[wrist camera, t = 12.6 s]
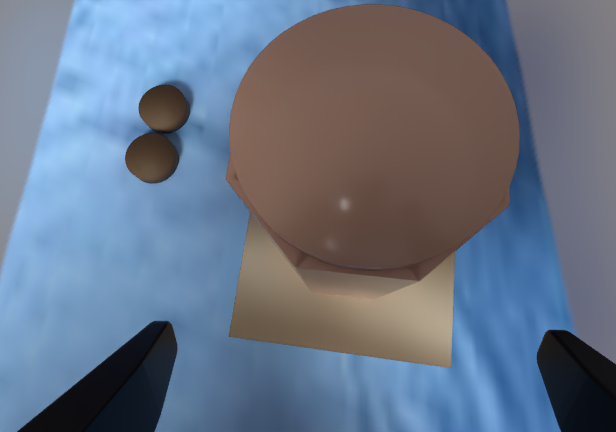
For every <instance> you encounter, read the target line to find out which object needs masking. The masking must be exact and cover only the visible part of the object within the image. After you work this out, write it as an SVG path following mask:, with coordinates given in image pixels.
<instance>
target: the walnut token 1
mask: <svg viewBox="0 0 616 432" xmlns="http://www.w3.org/2000/svg"><path fill="white" fill-rule="evenodd" d="M139 114H140V116H141V118H142V120H143V121H144V122H145V123H146V124H147V125H148V126H149V127H150V128H151V129H152V130H154V131H156V132H158V133H171V132H174V131H176V130H178V129H180V128H181V127H182V126H183V125H184V124H185V123H186V122H187V120H188V117H189V114H190V107H189V104H188V102H187V100H186V99H185V97H184V96H183V94H182V93H181V91H180V90H179V89H177V88H176V87H174V86H171V85H159V86H156V87H153V88H151V89H150V90H148V91H147V92H146V93H145V94H144V95H143V97H142V98H141V100H140V103H139Z"/></svg>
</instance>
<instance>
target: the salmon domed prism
mask: <svg viewBox="0 0 616 432" xmlns="http://www.w3.org/2000/svg"><path fill="white" fill-rule="evenodd" d="M229 137H230V150H231V152H230V158H229V163H228V169H227V175H226V180H227V182H228V183H229V184H230V186H231V187H232V189H233V190H234V191H235V193H236V194H237V195H238V197H239V198H240V199H241V201H242V202H243V203H244V205H245V206H246V207H247V209H248V210H249V211H250V213H251V214H252V215H253V217H254V218H255V219H256V221H257V222H258V223H259V225H260V226H261V228H262V229H263V230H264V232H265V233H266V234H267V236H268V237H269V238H270V240H271V241H272V242H273V244H274V245H275V246H276V248H277V249H278V250H279V251H280V253H281V254H282V255H283V256H284V258H285V259H286V260H287V261H288V263H289V264H290V265H291V267H292V268H293V269H294V270H295V272H296V273H297V274H298V275H299V277H300V278H301V279H302V281H303V282H304V283H305V284H306V286H307V287H308V288H309V289H310V291H311V292H312V293H320V294H329V295H338V296H347V297H356V298H365V299H374V300H375V299H377V298H380V297H382V296H384V295H387V294H389V293H392V292H394V291H397V290H399V289H402V288H404V287H407V286H409V285H412V284H414V283H417V282H419V281H421V280H422V279H423V278H424V277H425V276H427V275H428V274H429V273H430V272H431V271H432V270H434V269H435V268H436V267H437V266H438V265H440V264H441V263H442V262H443V261H444V260H445V259H447V258H448V257H449V256H450V255H451V254H452V253H454V252H455V251H456V250H457V249H458V248H460V247H461V246H462V245H463V244H464V243H465V242H467V241H468V240H469V239H470V238H471V237H472V236H474V235H475V234H476V233H477V232H478V231H480V230H481V229H482V228H483V227H484V226H485V225H487V224H488V223H489V222H490V221H491V220H492V219H494V218H495V217H496V216H497V215H498V214H500V213H501V212H502V211H503V210H504V209H505V208H507V207H508V206H509V205H510V184H511V181H512V178H513V175H514V173H515V170H516V165H517V160H518V155H519V145H520V129H519V119H518V114H517V110H516V106H515V102H514V99H513V96H512V94H511V91H510V89H509V86H508V84H507V82H506V81H505V79H504V77H503V75H502V74H501V72H500V70H499V69H498V67H497V66H496V65H495V63H494V62H493V61H492V59H491V58H490V57H489V56H488V54H487V53H486V52H485V51H484V50H483V49H482V48H481V47H480V46H479V45H478V44H477V43H476V42H474V41H473V40H472V39H471V38H469V37H468V36H467V35H465V34H464V33H463V32H461V31H460V30H458V29H457V28H455V27H453V26H452V25H450V24H448V23H447V22H444V21H442V20H440V19H438V18H436V17H434V16H432V15H429V14H426V13H423V12H420V11H417V10H413V9H408V8H404V7H399V6H391V5H381V4H363V5H354V6H345V7H341V8H336V9H332V10H328V11H325V12H322V13H319V14H316V15H313V16H311V17H309V18H307V19H305V20H303V21H301V22H299V23H297V24H295V25H294V26H292V27H290V28H289V29H287V30H286V31H284V32H283V33H281V34H280V35H279V36H278V37H276V38H275V39H274V40H273V41H271V42H270V43H269V44H268V45H267V46H266V47H265V48H264V50H263V51H262V52H261V53H260V54H259V55H258V56H257V57H256V59H255V60H254V61H253V63H252V64H251V65H250V67H249V68H248V70H247V72H246V74H245V75H244V77H243V79H242V81H241V83H240V85H239V88H238V90H237V93H236V95H235V99H234V103H233V107H232V110H231V117H230V126H229Z"/></svg>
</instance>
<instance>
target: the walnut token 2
mask: <svg viewBox="0 0 616 432" xmlns="http://www.w3.org/2000/svg"><path fill="white" fill-rule="evenodd" d="M125 161H126V165H127V168H128V169H129V171H130V172H131V173H132V174H134V175H135V176H136V177H138V178H139V179H140V180H142V181H144V182H146V183H159V182H162V181H165V180H166V179H168V178H169V177H170V176H171V175H172V174H173V173H174V172H175V170H176V168H177V166H178V162H179V156H178V152H177V150H176V148H175V147H174V146H173V144H172V143H171V142H170V141H169V140H168V139H167V138H166V137H164V136H162V135H160V134H156V133H149V134H144V135H142V136H140V137H138V138H136V139H135V140H134V141H133V142H132V143H131V144H130V146H129V147H128V149H127V152H126V156H125Z"/></svg>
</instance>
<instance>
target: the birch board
mask: <svg viewBox="0 0 616 432" xmlns="http://www.w3.org/2000/svg"><path fill="white" fill-rule="evenodd" d="M454 266H455V252H454V253H452V254H451V255H450V256H449V257H448V258H447V259H445V260H444V261H443V262H442V263H441V264H440V265H438V266H437V267H436V268H435V269H434V270H432V271H431V272H430V273H429V274H428V275H427V276H425V277H424V278H423V279H422V280H421V281H419V282H417V283H414V284H412V285H409V286H407V287H404V288H402V289H399V290H397V291H394V292H392V293H389V294H387V295H384V296H382V297H380V298H377V299H375V300H374V299H365V298H356V297H347V296H338V295H329V294H320V293H312V292H311V291H310V289H309V288H308V287H307V286H306V284H305V283H304V282H303V281H302V279H301V278H300V277H299V275H298V274H297V273H296V272H295V270H294V269H293V268H292V267H291V265H290V264H289V263H288V261H287V260H286V259H285V258H284V256H283V255H282V254H281V253H280V251H279V250H278V249H277V248H276V246H275V245H274V244H273V242H272V241H271V240H270V238H269V237H268V236H267V234H266V233H265V232H264V230H263V229H262V228H261V226H260V225H259V223H258V222H257V221H256V219H255V218H254V217H253V215H252V214H251V213H250V217H249V222H248V228H247V234H246V240H245V245H244V251H243V257H242V263H241V268H240V274H239V280H238V286H237V291H236V297H235V303H234V309H233V314H232V320H231V326H230V332H229V337H236V338H243V339H250V340H257V341H264V342H271V343H278V344H285V345H292V346H299V347H306V348H313V349H320V350H327V351H334V352H341V353H348V354H355V355H362V356H370V357H377V358H384V359H391V360H398V361H405V362H412V363H419V364H426V365H433V366H440V367H447V368H451V350H452V322H453V294H454Z"/></svg>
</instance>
